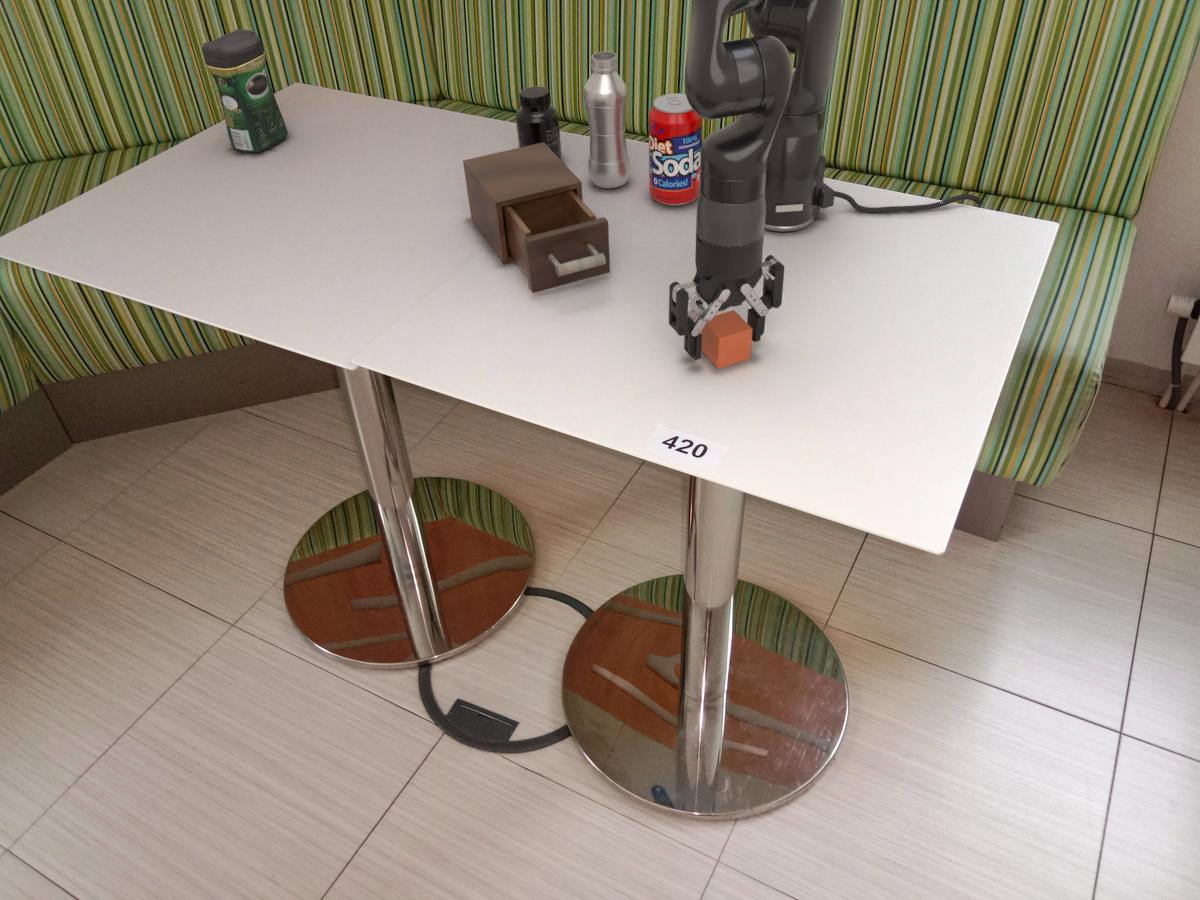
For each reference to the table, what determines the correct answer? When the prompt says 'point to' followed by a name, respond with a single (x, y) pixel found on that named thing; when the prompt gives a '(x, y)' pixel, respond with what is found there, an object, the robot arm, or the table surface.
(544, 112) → the supplement bottle
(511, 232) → the drawer
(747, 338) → the block
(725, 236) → the robot arm
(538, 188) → the cabinet
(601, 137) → the silver metal bottle
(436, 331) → the table surface
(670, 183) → the soda can
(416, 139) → the table surface
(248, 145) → the coffee jar
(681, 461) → the table surface
